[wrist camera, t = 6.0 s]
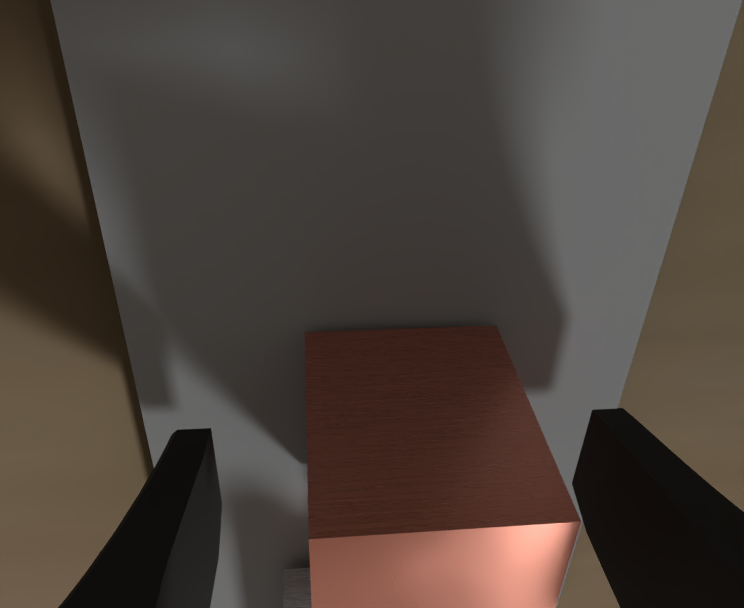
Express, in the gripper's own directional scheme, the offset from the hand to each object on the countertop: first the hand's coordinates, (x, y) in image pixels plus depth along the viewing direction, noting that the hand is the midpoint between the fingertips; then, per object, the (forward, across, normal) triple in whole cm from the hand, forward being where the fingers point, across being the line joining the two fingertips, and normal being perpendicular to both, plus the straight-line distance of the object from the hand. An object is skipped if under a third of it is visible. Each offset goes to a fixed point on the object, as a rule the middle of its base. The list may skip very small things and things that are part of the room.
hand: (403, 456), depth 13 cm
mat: (+2, 0, 0) cm, 2 cm away
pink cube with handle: (+1, 0, +4) cm, 4 cm away
